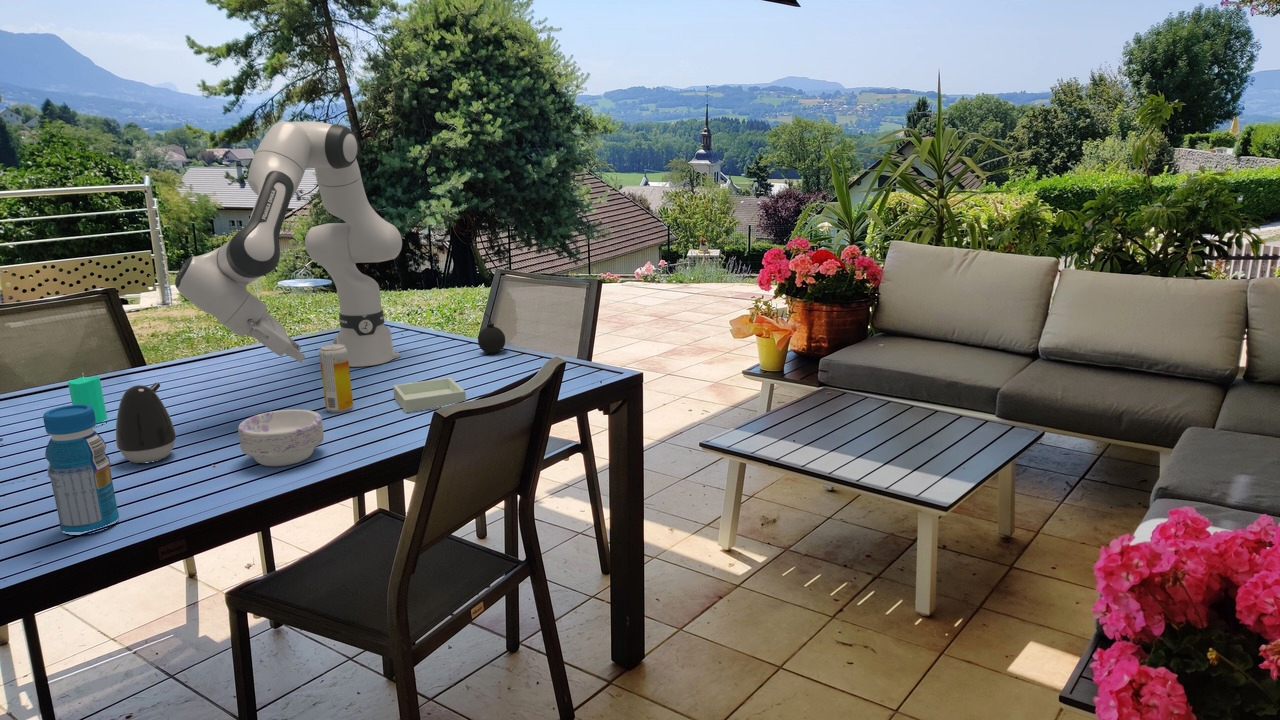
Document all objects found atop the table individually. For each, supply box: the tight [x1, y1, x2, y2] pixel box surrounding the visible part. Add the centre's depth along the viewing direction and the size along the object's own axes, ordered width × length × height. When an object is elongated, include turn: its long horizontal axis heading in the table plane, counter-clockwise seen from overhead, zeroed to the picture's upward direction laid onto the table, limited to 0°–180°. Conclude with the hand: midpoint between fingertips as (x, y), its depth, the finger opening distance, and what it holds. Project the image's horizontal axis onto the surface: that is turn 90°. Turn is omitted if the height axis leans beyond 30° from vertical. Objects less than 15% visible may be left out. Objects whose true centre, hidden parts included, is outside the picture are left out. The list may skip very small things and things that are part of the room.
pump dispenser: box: [115, 382, 177, 464], centre depth 168 cm, size 10×10×15 cm
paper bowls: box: [237, 409, 324, 467], centre depth 167 cm, size 15×15×8 cm
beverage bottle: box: [42, 404, 120, 532], centre depth 137 cm, size 8×8×20 cm
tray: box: [392, 377, 467, 414], centre depth 203 cm, size 14×14×3 cm
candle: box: [67, 372, 108, 423], centre depth 190 cm, size 6×6×12 cm
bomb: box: [477, 312, 506, 355], centre depth 247 cm, size 8×8×12 cm
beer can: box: [318, 343, 354, 414], centre depth 197 cm, size 6×6×15 cm
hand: (300, 354), depth 192 cm, fingers open, 8 cm apart
